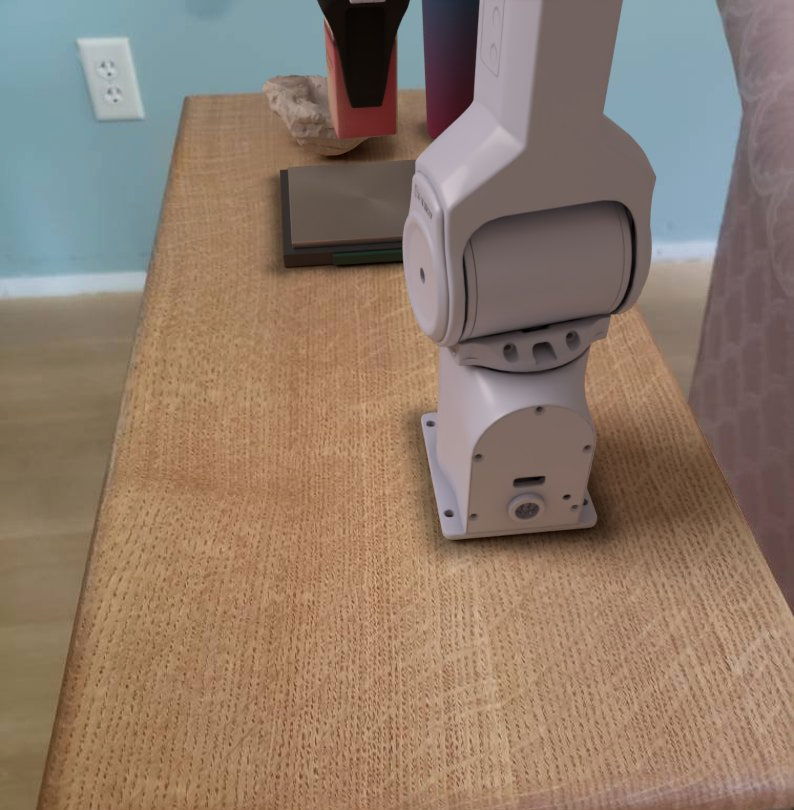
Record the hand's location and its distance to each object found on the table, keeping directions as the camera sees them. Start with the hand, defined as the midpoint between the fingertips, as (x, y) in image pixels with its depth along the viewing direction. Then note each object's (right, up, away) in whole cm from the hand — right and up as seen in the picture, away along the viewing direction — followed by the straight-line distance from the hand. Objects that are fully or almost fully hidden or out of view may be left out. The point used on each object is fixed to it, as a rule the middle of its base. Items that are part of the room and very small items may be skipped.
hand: (362, 87), depth 58 cm
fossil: (-4, +4, +16) cm, 17 cm away
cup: (+7, +5, +17) cm, 19 cm away
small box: (0, -2, +2) cm, 3 cm away
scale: (0, -6, +7) cm, 9 cm away
